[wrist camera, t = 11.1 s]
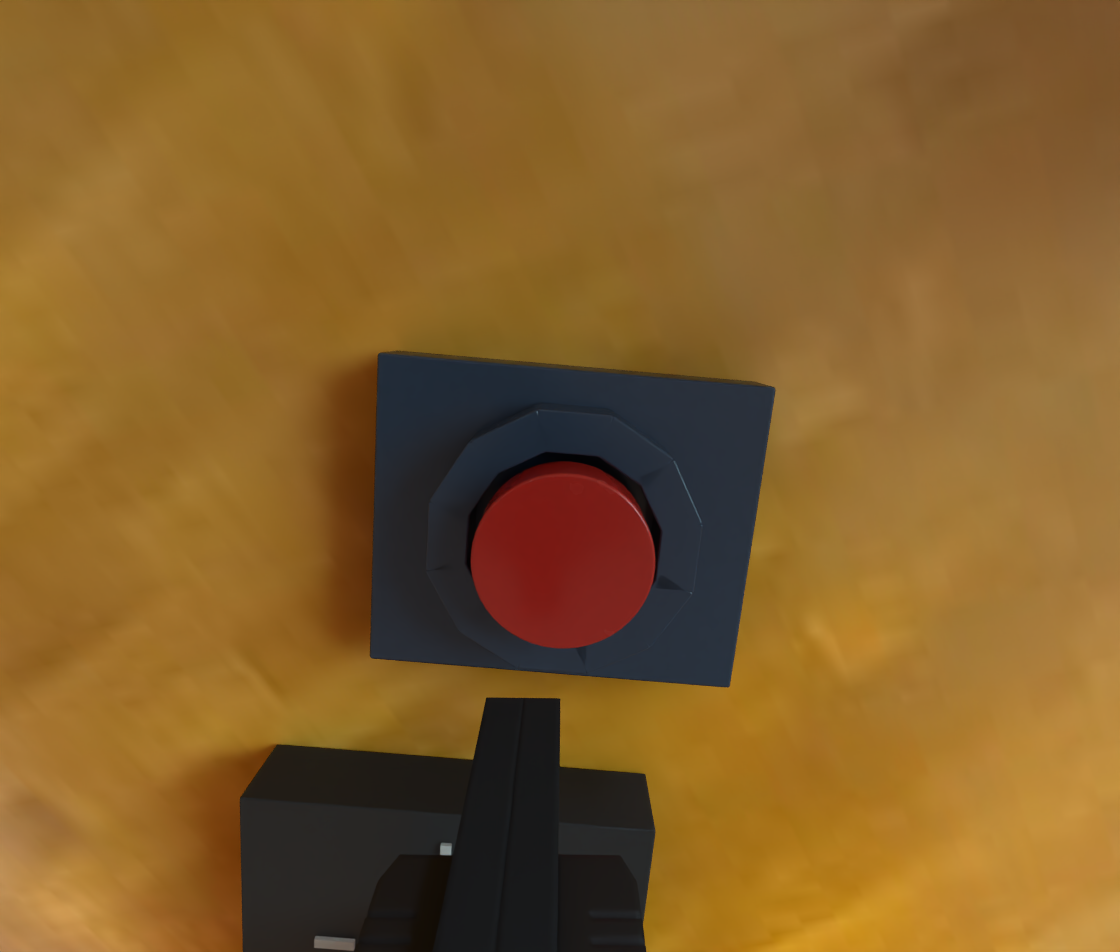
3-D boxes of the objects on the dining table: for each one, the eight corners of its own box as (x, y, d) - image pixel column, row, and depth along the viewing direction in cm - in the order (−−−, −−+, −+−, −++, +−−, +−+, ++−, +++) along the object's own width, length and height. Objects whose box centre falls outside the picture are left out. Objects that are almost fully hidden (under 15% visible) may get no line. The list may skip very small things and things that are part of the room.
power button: (473, 615, 20) (464, 642, 18) (483, 453, 19) (475, 465, 17) (638, 629, 20) (644, 657, 19) (657, 468, 19) (666, 481, 17)
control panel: (278, 979, 28) (242, 1061, 24) (276, 743, 25) (236, 801, 22) (615, 1005, 28) (622, 1090, 25) (645, 773, 25) (656, 834, 22)
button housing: (386, 629, 24) (352, 687, 20) (395, 350, 22) (358, 354, 18) (715, 657, 24) (744, 719, 20) (756, 381, 22) (797, 393, 18)
